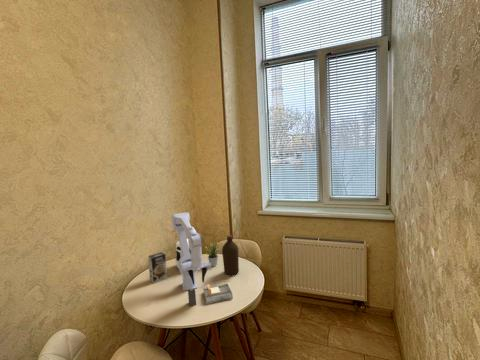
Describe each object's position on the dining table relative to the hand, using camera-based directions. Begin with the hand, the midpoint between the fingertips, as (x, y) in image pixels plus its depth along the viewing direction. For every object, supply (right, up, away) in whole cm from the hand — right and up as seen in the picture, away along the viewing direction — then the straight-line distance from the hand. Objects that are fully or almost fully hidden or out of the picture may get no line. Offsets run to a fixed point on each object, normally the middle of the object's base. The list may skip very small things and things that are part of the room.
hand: (198, 282), depth 136 cm
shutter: (+8, -6, +3) cm, 10 cm away
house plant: (+5, -6, +44) cm, 44 cm away
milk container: (-14, -7, +43) cm, 46 cm away
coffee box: (-30, -9, +27) cm, 41 cm away
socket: (+10, -9, +4) cm, 14 cm away
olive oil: (+17, -6, +30) cm, 35 cm away
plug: (-2, -10, -3) cm, 11 cm away
